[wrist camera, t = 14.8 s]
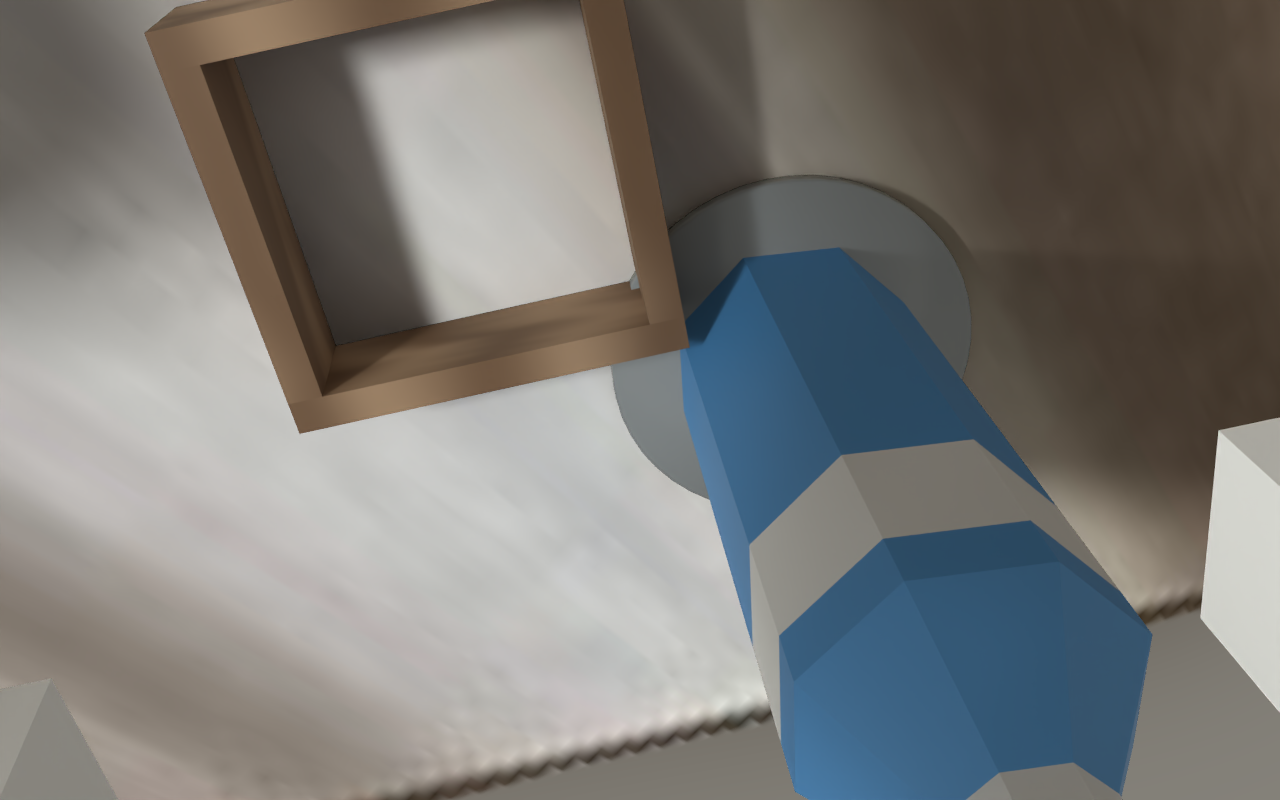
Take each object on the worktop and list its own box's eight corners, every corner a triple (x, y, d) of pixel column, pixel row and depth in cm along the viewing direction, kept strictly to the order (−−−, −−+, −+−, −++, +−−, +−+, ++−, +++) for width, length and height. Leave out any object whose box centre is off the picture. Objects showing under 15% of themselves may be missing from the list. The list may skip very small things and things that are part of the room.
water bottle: (732, 497, 49) (929, 1104, 27) (630, 315, 44) (765, 863, 22) (944, 396, 47) (1329, 946, 26) (859, 198, 43) (1238, 659, 21)
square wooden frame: (314, 380, 45) (299, 433, 42) (175, 7, 38) (144, 32, 35) (674, 301, 45) (689, 347, 42) (599, -86, 38) (610, -70, 35)
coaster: (646, 530, 50) (649, 541, 49) (575, 220, 43) (577, 228, 42) (973, 458, 50) (980, 468, 49) (953, 138, 43) (961, 144, 43)
